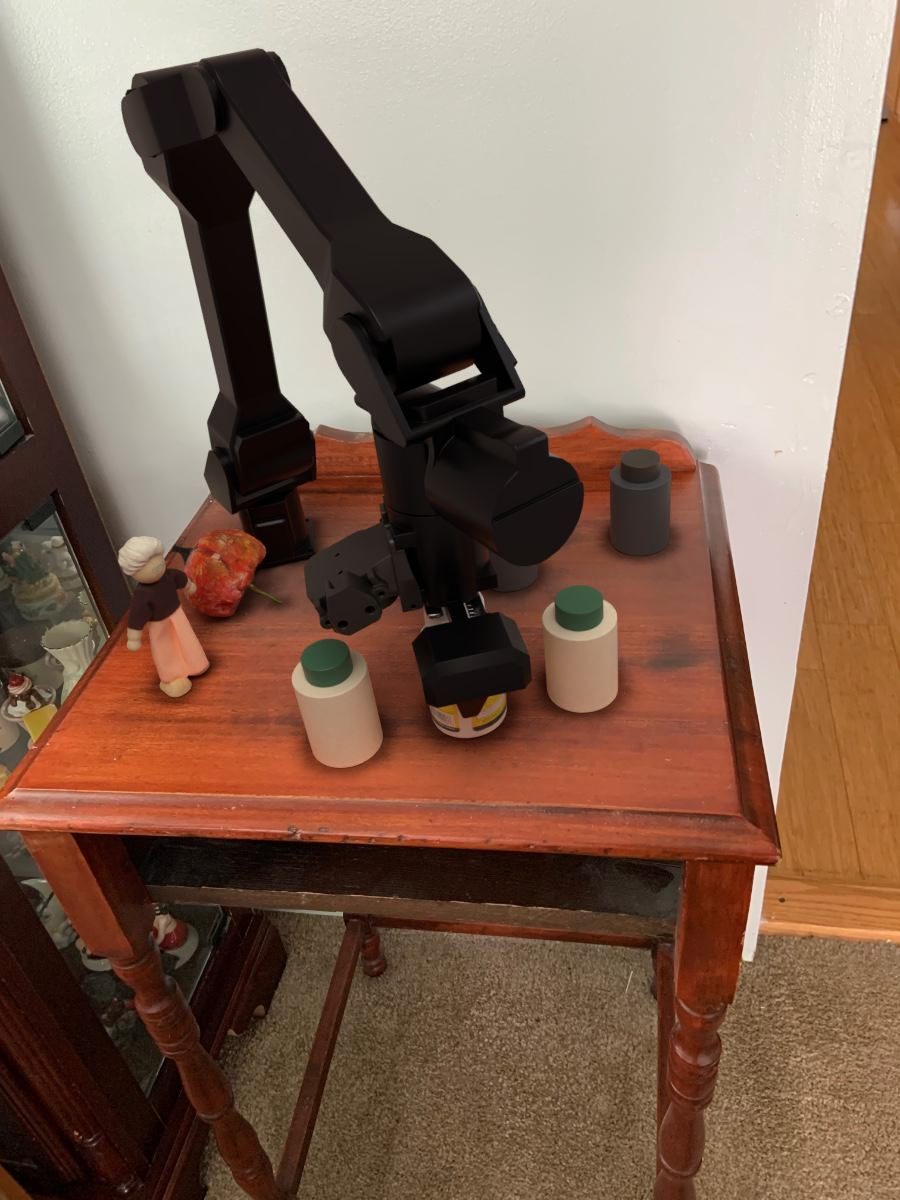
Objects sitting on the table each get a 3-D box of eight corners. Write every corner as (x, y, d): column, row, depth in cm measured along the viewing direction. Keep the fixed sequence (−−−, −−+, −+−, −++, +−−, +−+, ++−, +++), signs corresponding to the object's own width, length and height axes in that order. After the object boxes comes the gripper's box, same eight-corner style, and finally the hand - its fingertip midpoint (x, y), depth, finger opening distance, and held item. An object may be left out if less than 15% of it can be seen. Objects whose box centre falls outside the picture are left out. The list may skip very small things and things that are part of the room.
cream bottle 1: (309, 725, 65) (284, 638, 60) (378, 709, 65) (358, 622, 61) (314, 775, 61) (288, 687, 56) (387, 758, 61) (367, 670, 57)
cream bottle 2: (538, 673, 66) (531, 585, 62) (604, 659, 67) (602, 570, 62) (558, 719, 62) (552, 629, 58) (628, 703, 63) (628, 612, 58)
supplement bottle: (509, 686, 66) (498, 576, 60) (505, 740, 61) (492, 627, 56) (436, 687, 67) (417, 579, 61) (426, 741, 62) (405, 630, 56)
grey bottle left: (473, 564, 79) (463, 484, 74) (529, 553, 79) (523, 472, 74) (486, 597, 75) (477, 514, 70) (545, 584, 75) (539, 501, 70)
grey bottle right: (602, 531, 81) (601, 450, 76) (656, 519, 81) (658, 438, 76) (622, 560, 77) (621, 477, 72) (678, 548, 77) (681, 465, 72)
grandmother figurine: (190, 708, 68) (135, 569, 60) (144, 705, 69) (84, 568, 61) (230, 642, 74) (184, 509, 66) (187, 640, 75) (138, 508, 67)
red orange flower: (284, 596, 82) (186, 538, 80) (312, 551, 77) (208, 488, 75) (248, 655, 77) (143, 595, 75) (276, 611, 72) (164, 545, 70)
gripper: (288, 448, 60) (333, 631, 69) (307, 612, 45) (362, 817, 54) (452, 416, 61) (475, 601, 70) (524, 566, 46) (541, 775, 55)
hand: (461, 687), depth 63 cm, fingers closed on supplement bottle, 5 cm apart
